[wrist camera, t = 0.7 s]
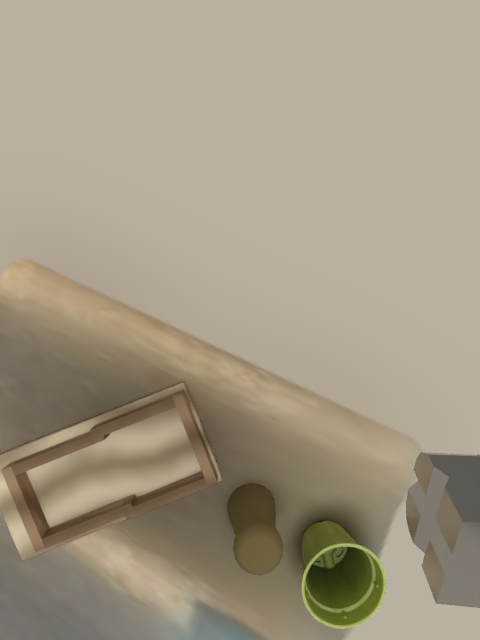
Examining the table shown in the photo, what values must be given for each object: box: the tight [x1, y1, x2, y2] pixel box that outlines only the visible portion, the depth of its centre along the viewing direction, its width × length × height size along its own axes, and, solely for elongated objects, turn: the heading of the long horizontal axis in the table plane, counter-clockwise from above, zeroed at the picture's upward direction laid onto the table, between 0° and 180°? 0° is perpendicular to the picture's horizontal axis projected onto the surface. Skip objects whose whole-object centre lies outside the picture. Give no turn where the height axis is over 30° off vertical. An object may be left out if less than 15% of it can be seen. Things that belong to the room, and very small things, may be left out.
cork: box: [228, 484, 283, 575], centre depth 50 cm, size 6×6×11 cm
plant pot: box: [301, 520, 387, 629], centre depth 51 cm, size 9×9×9 cm
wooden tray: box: [0, 382, 222, 561], centre depth 52 cm, size 13×26×4 cm, turn 111°
